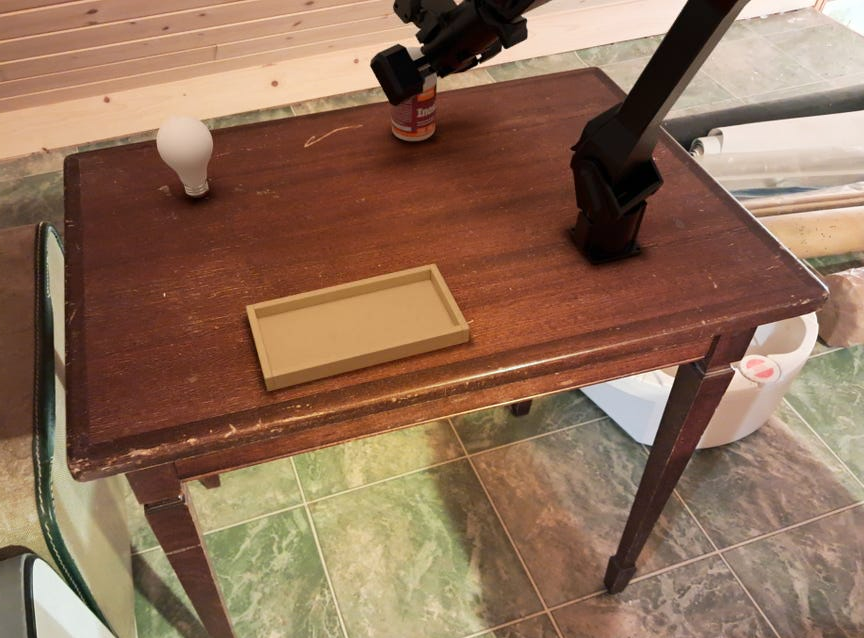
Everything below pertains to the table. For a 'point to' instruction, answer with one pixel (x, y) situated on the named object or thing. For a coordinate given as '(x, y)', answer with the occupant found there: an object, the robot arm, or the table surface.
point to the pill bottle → (416, 109)
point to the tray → (355, 326)
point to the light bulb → (187, 151)
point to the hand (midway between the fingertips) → (406, 83)
